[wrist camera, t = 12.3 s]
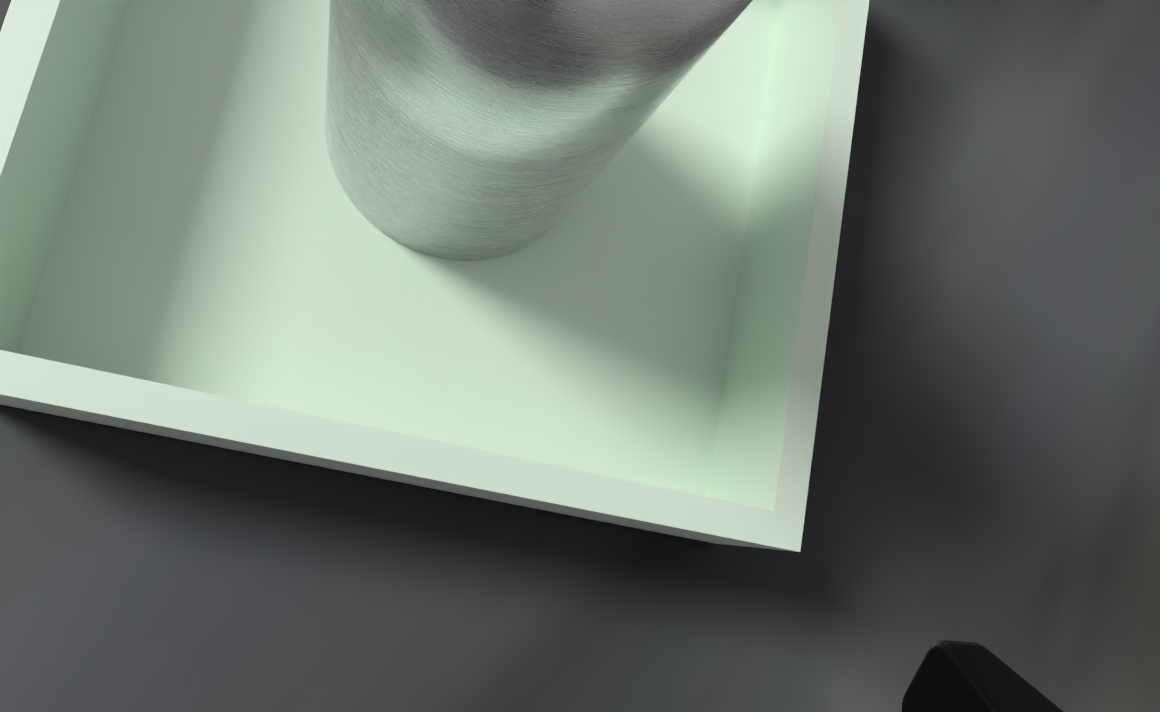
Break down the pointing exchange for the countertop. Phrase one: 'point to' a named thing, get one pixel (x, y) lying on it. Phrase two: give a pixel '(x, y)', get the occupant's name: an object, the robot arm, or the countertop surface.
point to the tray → (427, 271)
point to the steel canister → (496, 107)
